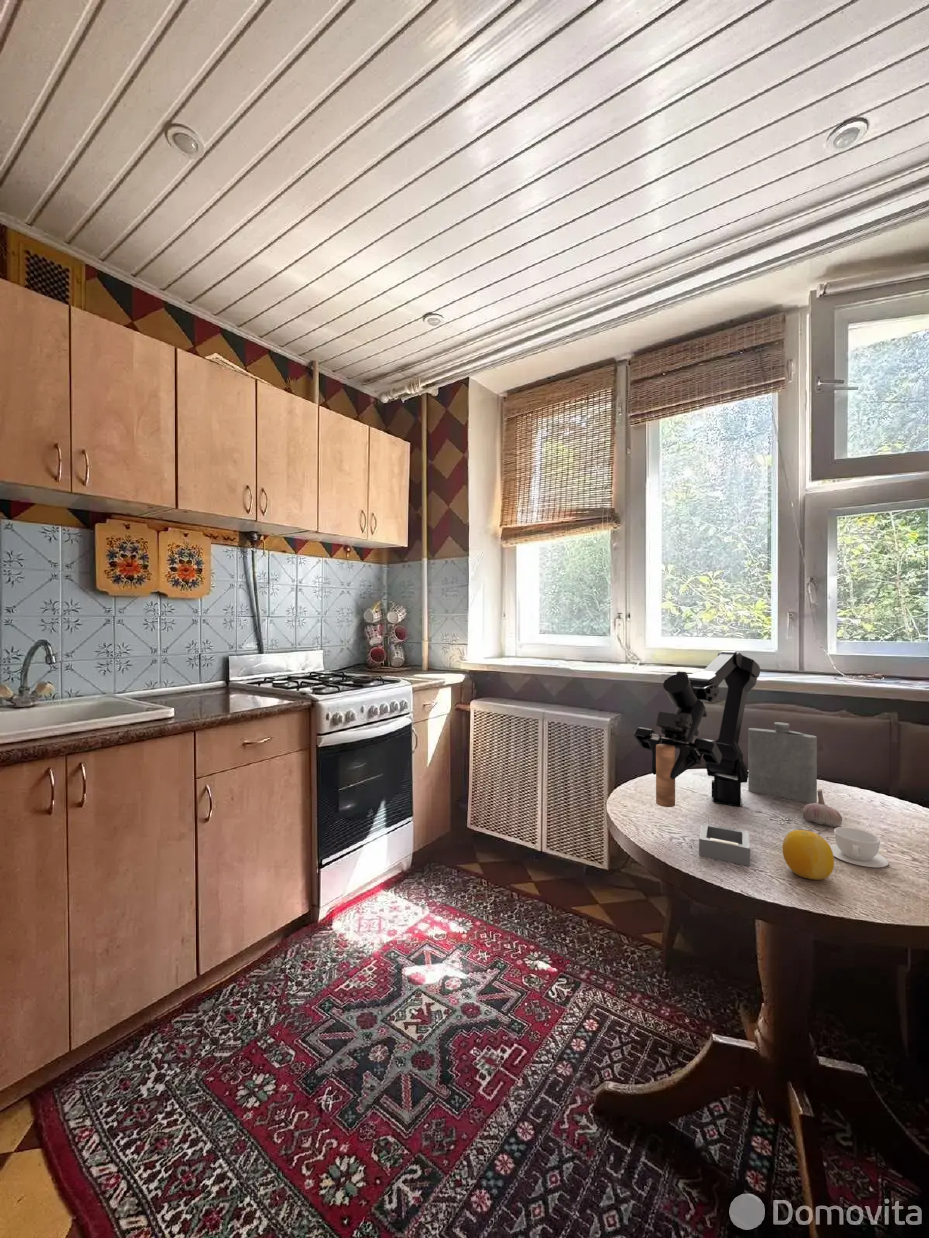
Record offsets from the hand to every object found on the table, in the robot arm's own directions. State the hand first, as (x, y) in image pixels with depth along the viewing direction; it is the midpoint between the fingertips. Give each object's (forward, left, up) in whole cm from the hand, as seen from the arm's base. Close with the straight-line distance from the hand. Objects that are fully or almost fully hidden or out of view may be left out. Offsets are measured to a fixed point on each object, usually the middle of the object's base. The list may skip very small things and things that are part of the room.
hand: (662, 775), depth 110 cm
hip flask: (-25, -43, -14) cm, 52 cm away
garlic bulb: (-32, -26, -14) cm, 44 cm away
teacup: (-36, -9, -14) cm, 40 cm away
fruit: (-26, +5, -14) cm, 30 cm away
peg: (-1, -1, -7) cm, 7 cm away
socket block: (-12, +2, -13) cm, 18 cm away
